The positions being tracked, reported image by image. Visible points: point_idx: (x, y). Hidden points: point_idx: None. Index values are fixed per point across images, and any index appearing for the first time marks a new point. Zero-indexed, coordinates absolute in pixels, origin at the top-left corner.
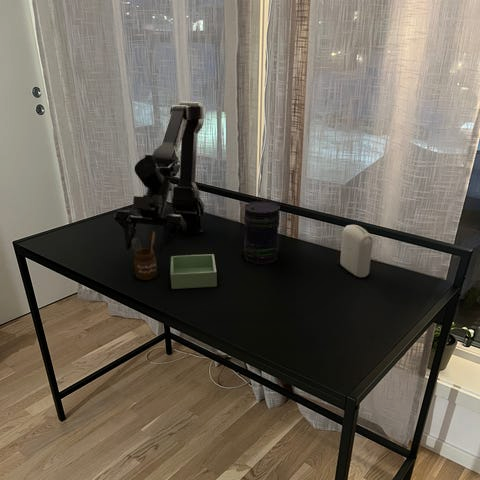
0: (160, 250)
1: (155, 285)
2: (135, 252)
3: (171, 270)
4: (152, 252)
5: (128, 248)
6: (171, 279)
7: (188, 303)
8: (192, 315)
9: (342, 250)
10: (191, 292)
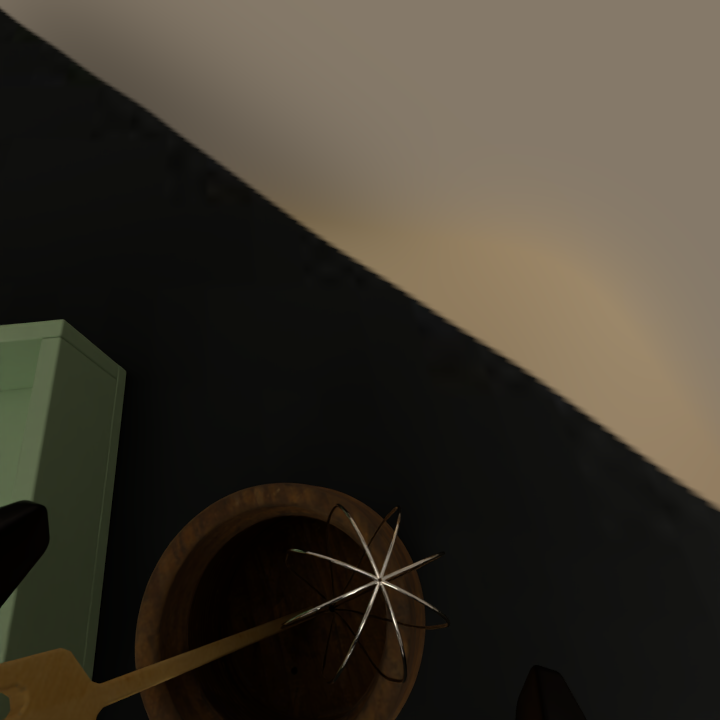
0: (8, 505)
1: (238, 427)
2: (395, 600)
3: (42, 392)
4: (151, 589)
5: (526, 694)
6: (83, 340)
7: (52, 210)
8: (55, 115)
9: None
10: None
